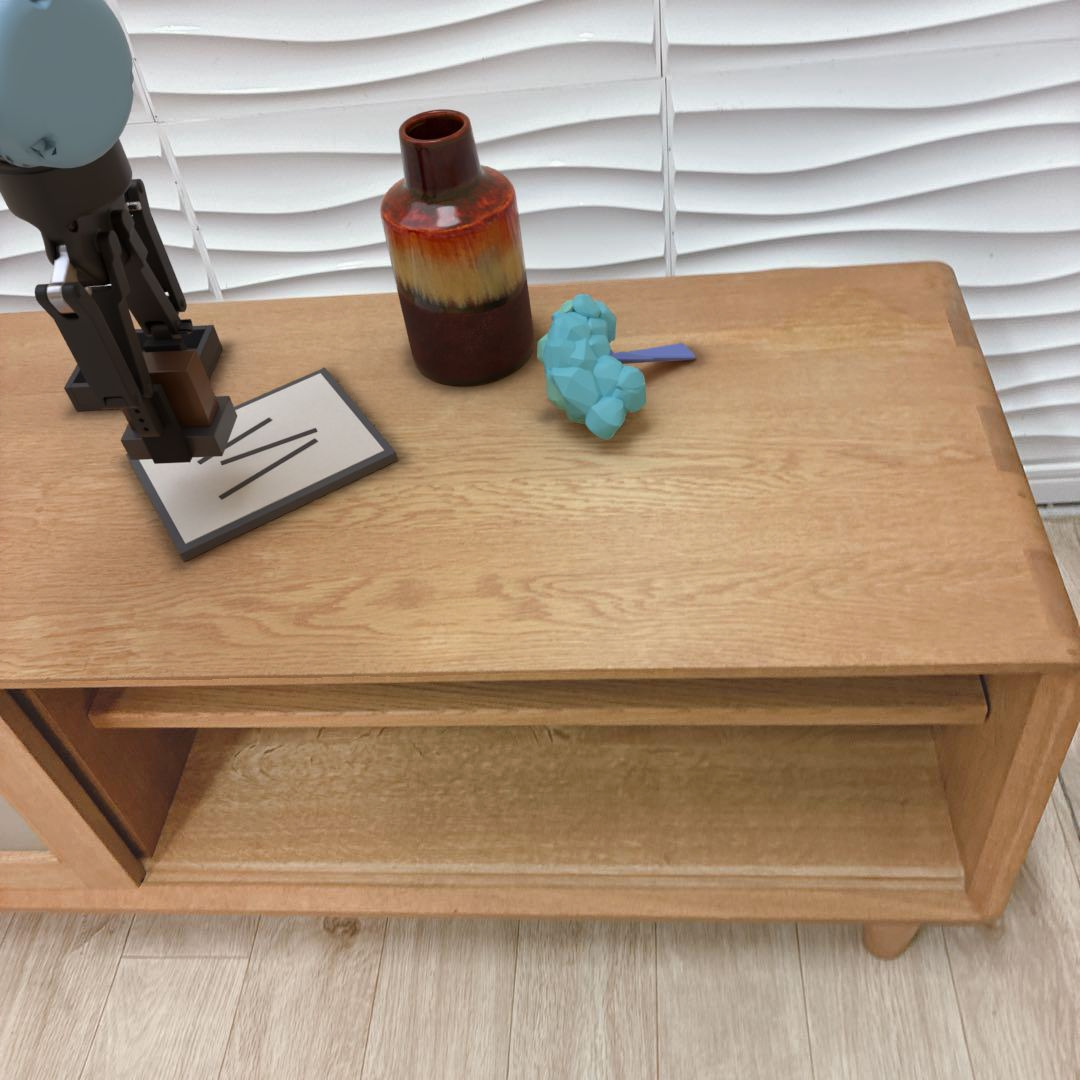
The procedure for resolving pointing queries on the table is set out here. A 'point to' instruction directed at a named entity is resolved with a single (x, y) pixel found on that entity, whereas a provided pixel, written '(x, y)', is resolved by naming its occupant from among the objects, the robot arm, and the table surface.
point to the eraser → (186, 405)
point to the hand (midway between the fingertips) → (183, 435)
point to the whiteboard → (266, 464)
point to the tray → (199, 340)
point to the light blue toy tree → (595, 366)
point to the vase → (457, 255)
